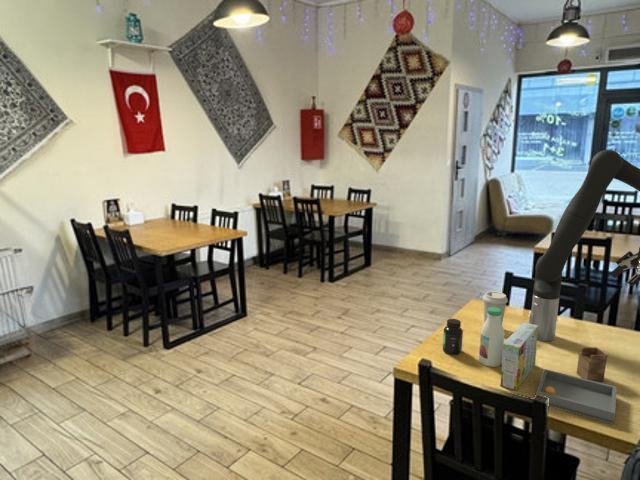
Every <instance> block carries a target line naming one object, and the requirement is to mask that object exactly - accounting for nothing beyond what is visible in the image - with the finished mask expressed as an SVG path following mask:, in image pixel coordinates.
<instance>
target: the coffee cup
mask: <svg viewBox="0 0 640 480" xmlns="http://www.w3.org/2000/svg"><path fill="white" fill-rule="evenodd" d="M482 300H483V320H484V321H483V322H484V323H485V321H486V320H487V317H488V315H487V310H488V308H490V307H495V308H499V309H501V310H502V314H501V317H500V319H501V323H502V324H503V323H504V322H503V321H504V317H505V312H506V306H507V303H508V302H509V301H508V298H507V295H506V294H505V293H503V292H500V291H487V292H485V294H484V295H483V296H482ZM484 323H483V324H484Z"/></svg>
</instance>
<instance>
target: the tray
mask: <svg viewBox="0 0 640 480" xmlns="http://www.w3.org/2000/svg"><path fill="white" fill-rule="evenodd" d="M546 387H553V388H554V389H555V392H556V393H555V395H552V394H549V393H545V388H546ZM617 390H618V389H617V386H614V385H611V384H607V383H604V382H595V381H591V380H587V379H583V378H581V377H580V376H579V377H578V376H574V375H569V374H566V373H563V372H558V371H553V370H550V369H546V368H544V369H543V372H542V376H541V378H540V381H539V384H538V387H537V389H536V394H535V396H536V395H537V394H538V395H542V396H546V397H548V398H549V406H548V407H551V408H554V407H556V408H555V409H557V408H559V409H558V410H561V409H562V410H561V411H564V410H566V411H565V412H568V411H570V412H569V413H571V412H573V413H572V414H575V413H577V414H576V415H578V414H579V416H582V415H583V417H585V416H586V418H589V419H593V420H596V421H599V420H600V422H604V423H605V424H606V423H607V424H610V425H614V423H615V418H616V417H615V416H616V404H617V401H616V400H617Z"/></svg>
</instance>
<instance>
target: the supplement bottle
mask: <svg viewBox="0 0 640 480" xmlns="http://www.w3.org/2000/svg"><path fill="white" fill-rule="evenodd" d="M461 323H462V321H461V320H460V319H457V318H449V319H447V320H446V326H445V327H444V328H443V335H442V351H443V352H444V353H445V354H447V355H450V356H458V355H460V354H461V353H462V352H463V351H462V350H463V339H464V338H463V337H464V330H463V329H462V327H461Z"/></svg>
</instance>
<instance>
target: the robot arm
mask: <svg viewBox="0 0 640 480" xmlns="http://www.w3.org/2000/svg"><path fill="white" fill-rule="evenodd" d="M613 180H617V181H619V182H622V183H624V184H626V185H627V186H630V187H631V188H634V189H635V190H636V191H638V192H640V168H639V167H637V166H636V165H634V164H632V163H631V162H629V161H628V160H626V159H625V158H623V157H622V156H621V154H619V152H617V151H616V150H613V149H605V150H600V151H598V152H597V153H596V154H595V155H594V156H593V157H592V159H591V162H590V165H589V169H588V170H587V174H586V176H585V178H584V180H583V181H582V184H581V186H580V188H579V189H578V190H577V192H576V193H575V194H574V196H573V197H572V198H571V200H570V201H569V203H568V204H567V206H566V207H565V210H564V211H563V213H562V214H561V217H560V218H559V222H558V223H557V226H556V228H555V231H554V234H553V238H552V240H551V242H550V244H549V246H548V248H547V249H546V251H545V252H544V254H543V255H540V257H539V258H538V259H537V261H536V264H535V277H534V282H533V283H534V284H533V289H532V290H533V291H532V302H531V310H530V311H531V312H530V314H529V321H528V323H530V324H534V325H538V335H537V341H540V342H551V341H554V340H555V337H556V330H557V329H556V328H557V322H558V321H557V320H558V313H559V303H560V296H561V295H560V294H561V289H562V280H563V279H562V278H563V271H564V269H565V266H566V264H567V261H568V259H569V257H570V255H571V253H572V252H573V250H574V248H575V247H576V246H577V244H578V243H579V242H580V240H581V238H582V237H583V235H584V234H585V232H586V230H587V229H588V227H589V226H590V224H591V222H592V220H593V218H594V217H595V214H596V212H597V210H598V208H599V206H600V203H601V200H602V198H603V195H604V194H605V192H606V190H607V189H608V187H609V186H610V184H611V183H612V181H613ZM615 263H616V264H617V266H616V267H615V268H614V269H613V270H611V272H610V276H611V277H612V278H614V279H615V278H618V276H619V275H621V274H622V273H623V272H624V271H626V270H633V269H635V270H637V273H635V274H634V275H633V276H631V277H630V278H629V279H628V280H627V281H626V283H627V284H628V286H631V287H634V286H635V285H637V284H638V283H639V282H640V246H639V248H638V251H637V253H633V252H632V251H630V250H629V251H627V252H626V253H625V254H624V255H623V256H621V257H620V258H619V259H618V260H616V262H615Z"/></svg>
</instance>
